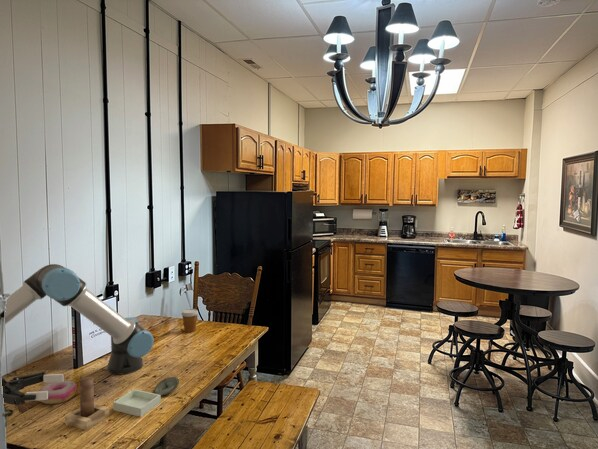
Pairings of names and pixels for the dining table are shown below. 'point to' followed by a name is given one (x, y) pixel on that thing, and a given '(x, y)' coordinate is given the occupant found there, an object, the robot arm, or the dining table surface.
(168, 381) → the lid
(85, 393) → the dowel
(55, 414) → the dining table surface
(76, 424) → the square wooden peg frame
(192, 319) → the disposable coffee cup
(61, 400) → the donut
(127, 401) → the tray
